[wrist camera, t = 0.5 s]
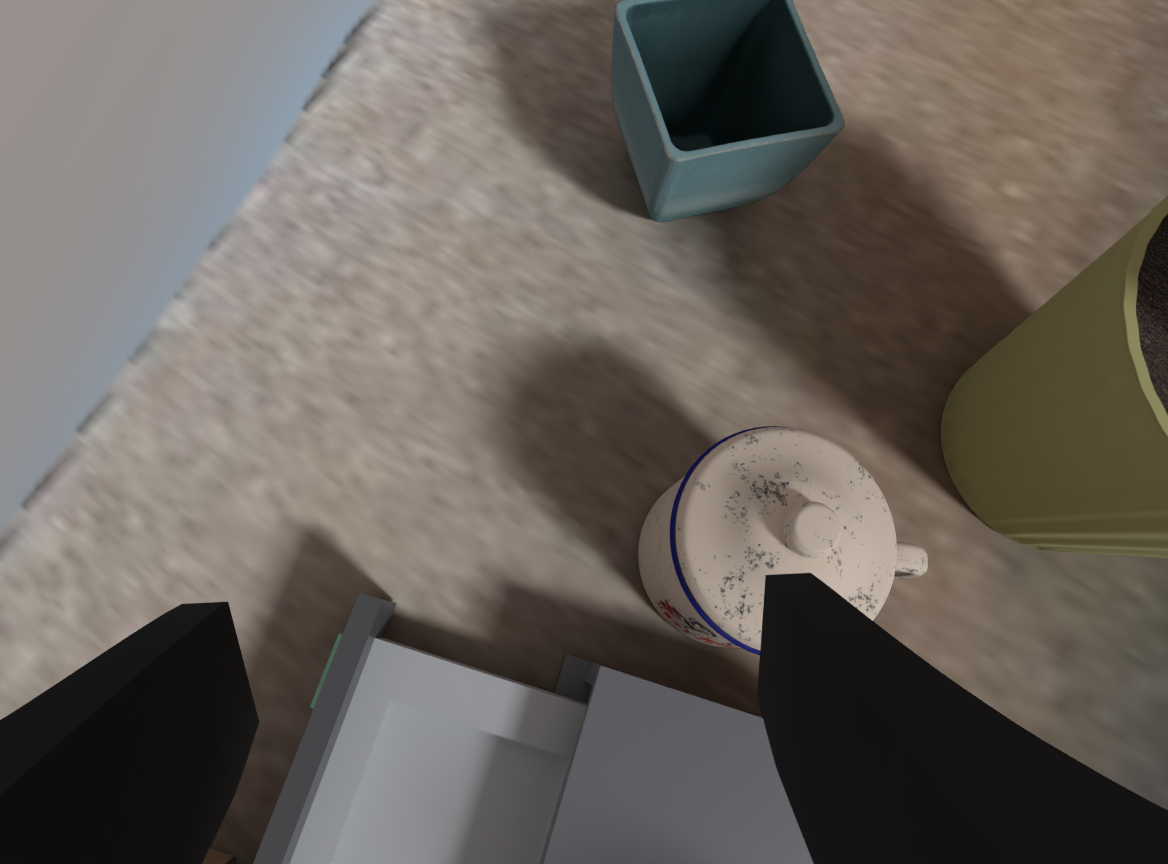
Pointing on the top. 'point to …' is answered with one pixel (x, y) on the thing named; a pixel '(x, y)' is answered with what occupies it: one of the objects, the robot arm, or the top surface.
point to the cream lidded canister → (768, 534)
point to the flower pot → (717, 101)
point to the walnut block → (217, 857)
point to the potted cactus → (1075, 411)
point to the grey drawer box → (667, 779)
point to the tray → (420, 759)
